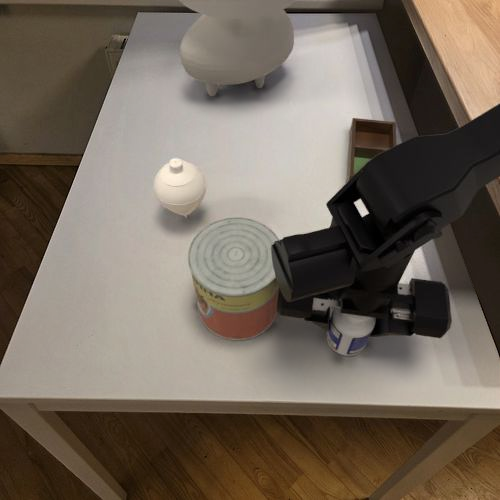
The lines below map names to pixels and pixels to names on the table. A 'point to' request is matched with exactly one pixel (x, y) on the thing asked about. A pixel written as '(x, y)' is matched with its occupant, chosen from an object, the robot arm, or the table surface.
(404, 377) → the table surface
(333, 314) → the pill bottle
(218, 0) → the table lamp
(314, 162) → the table surface
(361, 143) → the holder
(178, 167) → the spinning top
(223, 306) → the canned food
